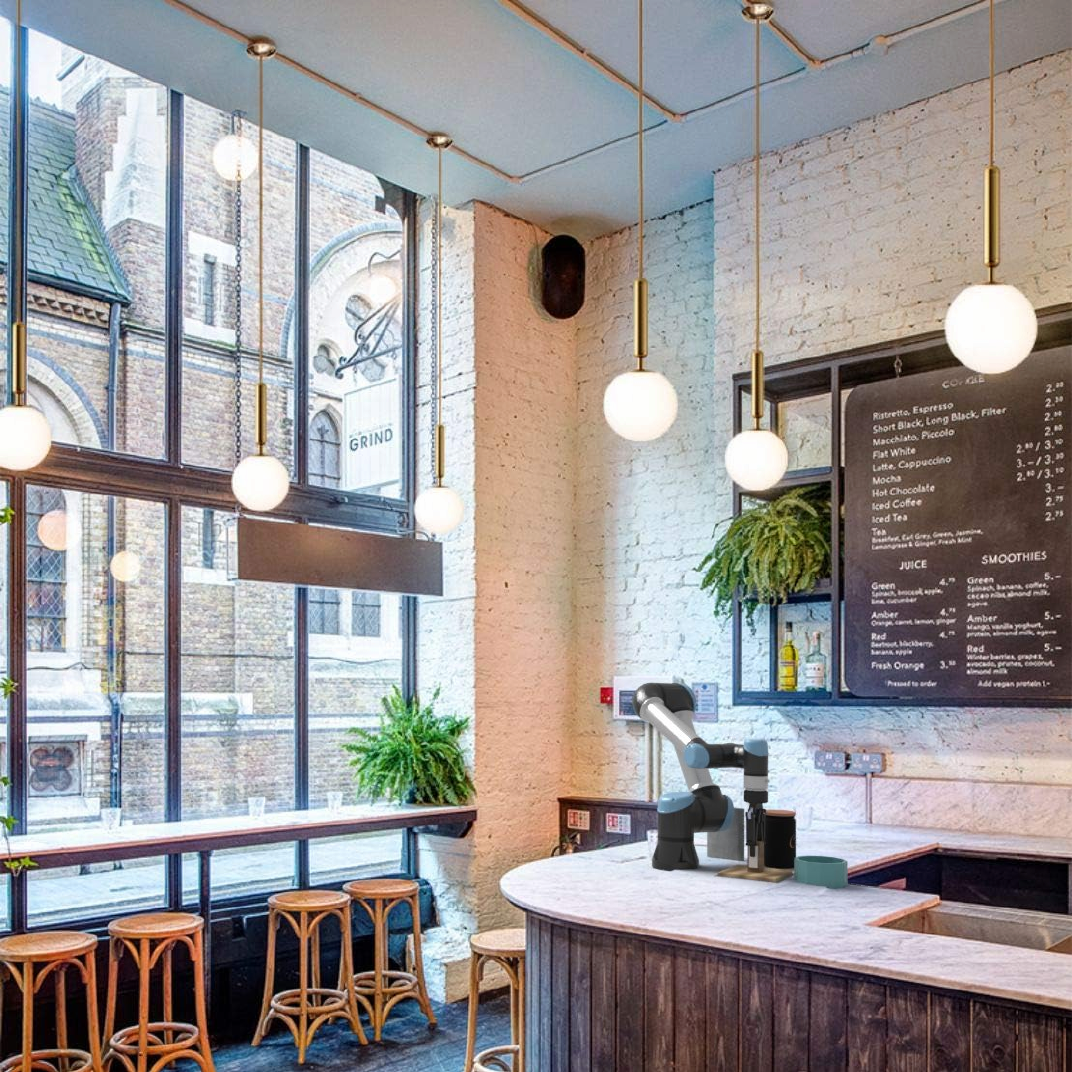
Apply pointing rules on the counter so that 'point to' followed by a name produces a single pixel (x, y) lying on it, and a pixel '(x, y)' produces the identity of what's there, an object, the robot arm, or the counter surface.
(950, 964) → the counter surface
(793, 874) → the rubber mat
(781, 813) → the coffee jar
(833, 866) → the teal bowl
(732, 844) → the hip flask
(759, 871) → the oak cover
